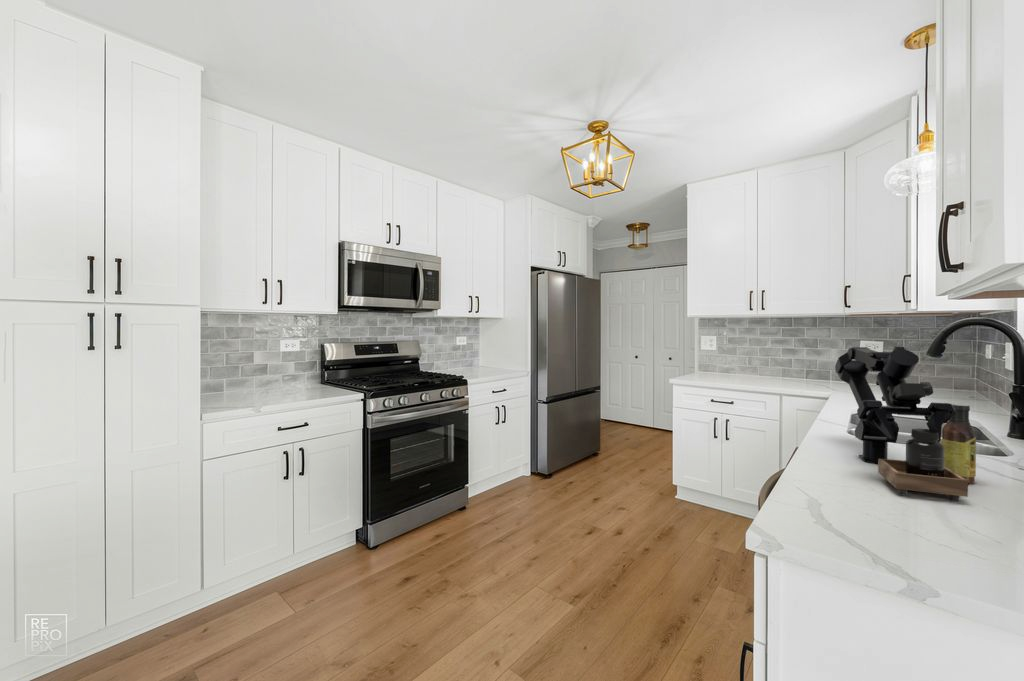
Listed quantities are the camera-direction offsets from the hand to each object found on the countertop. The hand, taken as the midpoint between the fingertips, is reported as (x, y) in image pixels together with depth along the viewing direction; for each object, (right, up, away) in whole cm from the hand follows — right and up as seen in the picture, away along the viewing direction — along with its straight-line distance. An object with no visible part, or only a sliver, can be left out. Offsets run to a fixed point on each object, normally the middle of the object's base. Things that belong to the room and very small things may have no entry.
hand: (915, 439), depth 108 cm
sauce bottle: (+16, -12, +5) cm, 20 cm away
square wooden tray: (-1, -12, -2) cm, 12 cm away
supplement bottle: (0, -9, -2) cm, 10 cm away
